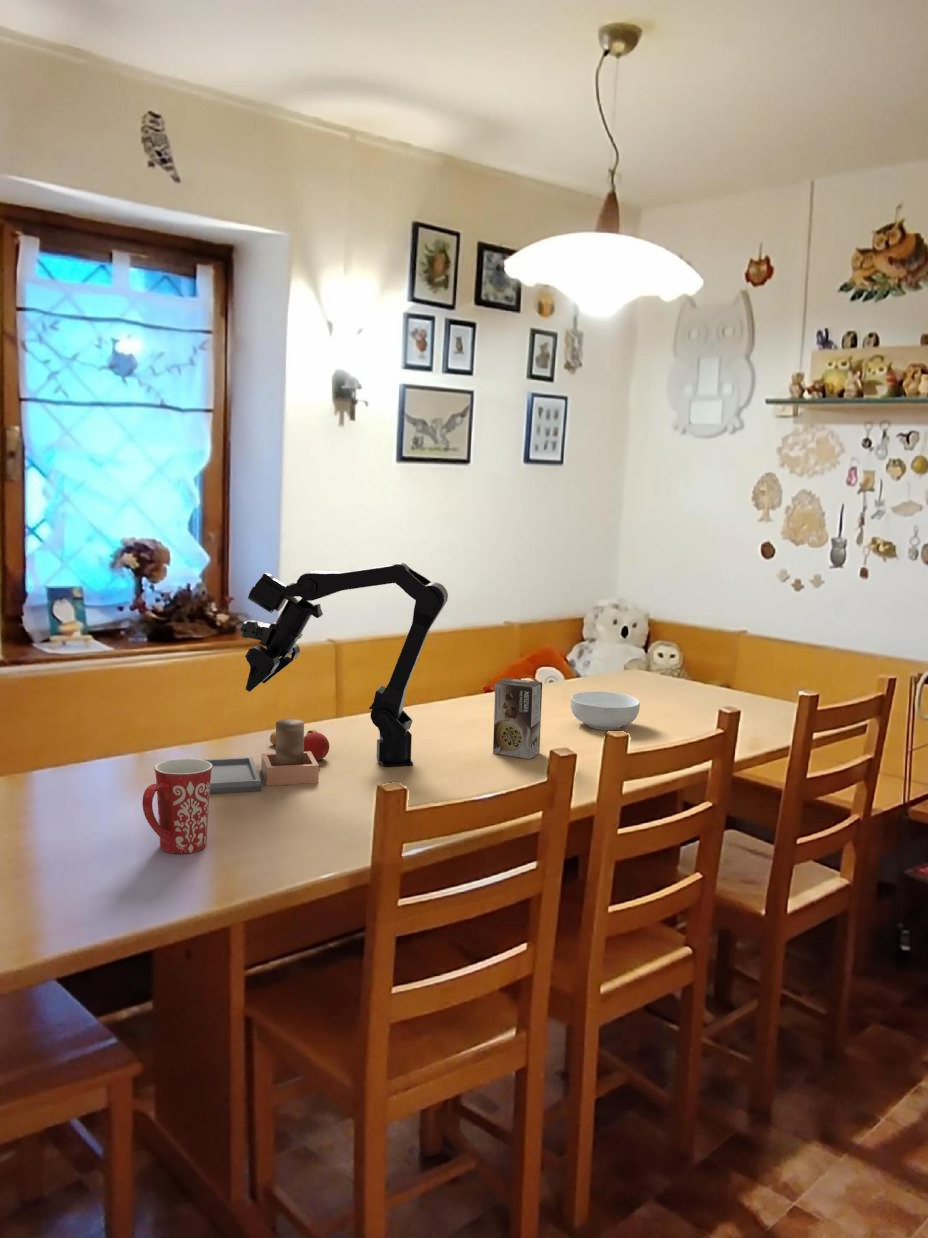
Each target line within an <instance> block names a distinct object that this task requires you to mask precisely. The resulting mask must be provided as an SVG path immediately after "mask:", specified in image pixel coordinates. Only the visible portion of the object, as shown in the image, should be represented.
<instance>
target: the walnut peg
mask: <svg viewBox="0 0 928 1238" xmlns="http://www.w3.org/2000/svg"><path fill="white" fill-rule="evenodd" d="M275 732H276V745H275V753H276V766H286V765H304V736H305V722H304V721H303V720H299V719H289V718H287V719H281V720H280V719H279V720H278V721H276V722H275Z"/></svg>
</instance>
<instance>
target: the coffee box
mask: <svg viewBox="0 0 928 1238" xmlns="http://www.w3.org/2000/svg"><path fill="white" fill-rule="evenodd" d="M542 695H543V682H542V681H535V680H529V679H528V680H527V679H526V680H525V679H520V678H512V677H511V678H509V677H504V678H502V679H500V680H499V681H497V682H495V683H494V710H493V711H494V712H493V713H494V714H493V743H492V744H493V745H492V754H495V755H502V756H508V757H515V758H522V759H528V760H530V759H532V758H534V757H536V756H537V755H539V754H540V752H541V751H540V747H541V746H540V745H541V744H540V743H541V728H542V727H541V721H542V700H543V697H542Z"/></svg>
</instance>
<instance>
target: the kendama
mask: <svg viewBox="0 0 928 1238" xmlns="http://www.w3.org/2000/svg"><path fill="white" fill-rule="evenodd" d="M269 741H270V742H269V743H271V745H274V746H276V731H273V732H272V733H271V735H270V737H269ZM307 751H311V752H312V754H313V756H314V758H315V760H316V761H317V762H319V761H321V760H323V759H324V758H325V757H327V755H328V753H329V751H330V742H329V740H328V737H326V736H325V734H323V733H321V732H318V731H317V730H316V729H310V730H309V729H308V731H307V732H306V734H305V735H304V752H307Z"/></svg>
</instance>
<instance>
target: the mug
mask: <svg viewBox="0 0 928 1238" xmlns="http://www.w3.org/2000/svg"><path fill="white" fill-rule="evenodd" d="M212 768H213V765H212V764H211V763H210V762H208V761H205V760H201V759H199V758H190V757H189V758H186V757H185V758H183V757H182V758H174V759H173V758H172V759H167V760H163V761H161V762H158V763H156V764H155V765H154V766H153V769H154V772H155V783H152V784H150V785H148V786H147V787H146V789H145V790H144V792H143V795H142V810H143V814H144V815H143V816H144V817H145V819H146V821H147V823H148V824H149V826H150V828H151V829H152V830H153V832H154V833H155V834H156V835H157V836H158V837H159V847H160V849H161V850H162V851H163V852H167V853H169V854H170V853H171V854H175V853H177V854H176V855H178V853H179V854H180V853H181V854H182V855H183V853H184V854H192V853H196V852H198V851H201V850H203V849H205V848H206V846H207V841H208V824H209V813H210V811H209V809H210V796H211V795H210V781H211V770H212ZM155 794H156V797H157V798H156V799H157V800H156V801H157V812H158V813H157V814H158V815H157V816H158V819H157V818H156V816H155V813H154V809H153V802H154V801H153V800H154V796H155ZM181 854H180V855H181Z"/></svg>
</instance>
